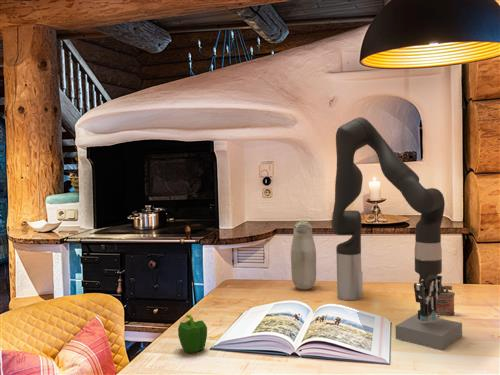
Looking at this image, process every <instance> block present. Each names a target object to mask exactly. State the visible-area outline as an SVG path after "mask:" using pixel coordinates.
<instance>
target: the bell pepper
mask: <svg viewBox="0 0 500 375" xmlns="http://www.w3.org/2000/svg"><path fill="white" fill-rule="evenodd" d="M185 317H186V318H188V320H186V321H185V322H183V321H181V322H179V326H178V328H177V332H178V339H179V342H180V345H181V348H182V349H183V351H184V352H185V353H189V354H195V353H199V351H202V350H204V349H205V346H206V343H207V337H208V327H207V325H206V323H205V322H204V320H197V321H194V317H193V316H192V315H191V314H189V313H188V314H186V315H185Z"/></svg>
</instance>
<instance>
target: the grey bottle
mask: <svg viewBox="0 0 500 375" xmlns="http://www.w3.org/2000/svg"><path fill="white" fill-rule="evenodd" d="M290 267H291V268H290V269H291V270H290V271H291V280H292V283H293V285H294V286H295V287H296V288H297V289H299V290H303V291H304V290H310V289H311V288H312V287H314V286H315V284H316V281H317V250H316V244H315V240H314V234H313V227H312V225H311V223H310V222H309V221H306V220H301V221H300V220H299V221H297V222H296V223H295V224H294V226H293V234H292V241H291V248H290Z"/></svg>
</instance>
